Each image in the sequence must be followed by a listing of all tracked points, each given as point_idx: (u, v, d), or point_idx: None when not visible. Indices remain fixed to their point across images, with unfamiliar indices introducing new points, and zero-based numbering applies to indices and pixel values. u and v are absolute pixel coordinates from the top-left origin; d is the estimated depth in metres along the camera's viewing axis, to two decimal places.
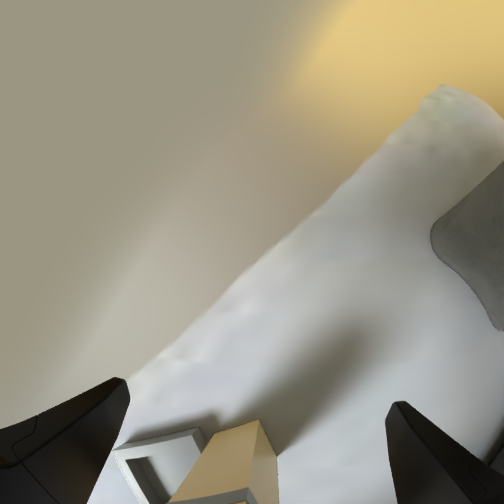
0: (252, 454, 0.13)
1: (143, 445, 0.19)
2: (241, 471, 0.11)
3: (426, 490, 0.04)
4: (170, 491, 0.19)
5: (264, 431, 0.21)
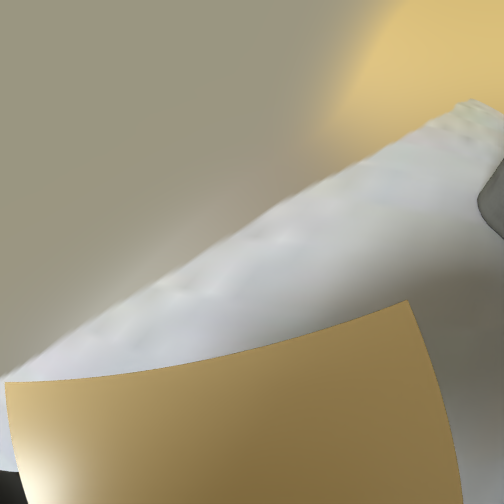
0: None
1: None
2: None
3: None
4: None
5: None
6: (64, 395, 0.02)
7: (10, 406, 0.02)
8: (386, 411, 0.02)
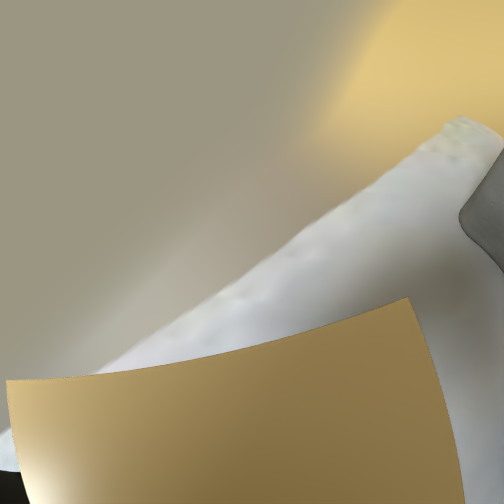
0: None
1: None
2: None
3: None
4: None
5: None
6: (66, 392, 0.02)
7: (12, 404, 0.02)
8: (387, 407, 0.02)
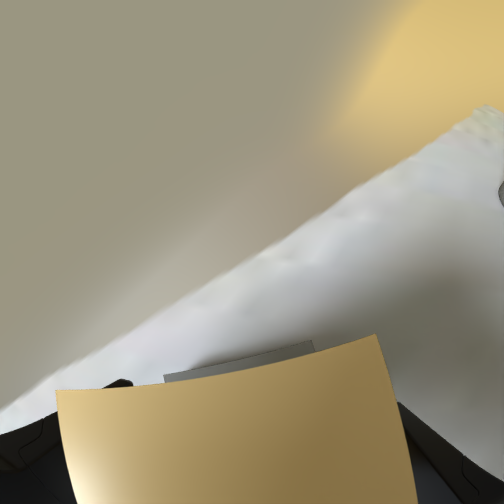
0: None
1: (226, 363, 0.14)
2: None
3: (418, 492, 0.04)
4: None
5: None
6: (112, 399, 0.03)
7: (60, 409, 0.03)
8: (352, 415, 0.03)
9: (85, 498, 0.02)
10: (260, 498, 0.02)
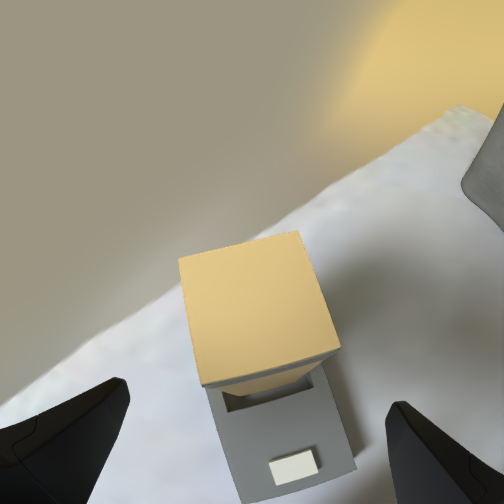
0: None
1: None
2: None
3: (426, 490, 0.04)
4: None
5: None
6: (204, 256, 0.09)
7: (179, 266, 0.09)
8: (290, 255, 0.09)
9: (189, 299, 0.09)
10: (259, 283, 0.09)
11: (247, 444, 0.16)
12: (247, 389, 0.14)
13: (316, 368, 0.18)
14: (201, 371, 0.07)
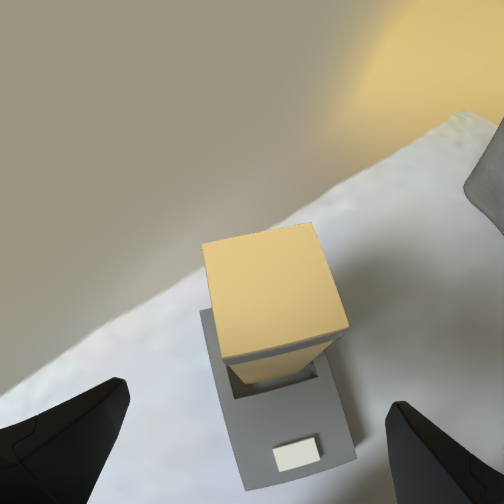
0: None
1: None
2: None
3: (426, 490, 0.04)
4: None
5: None
6: (227, 242, 0.10)
7: (203, 250, 0.10)
8: (304, 243, 0.10)
9: (212, 280, 0.10)
10: (277, 268, 0.10)
11: (252, 431, 0.17)
12: (256, 374, 0.15)
13: (320, 358, 0.19)
14: (223, 346, 0.08)
